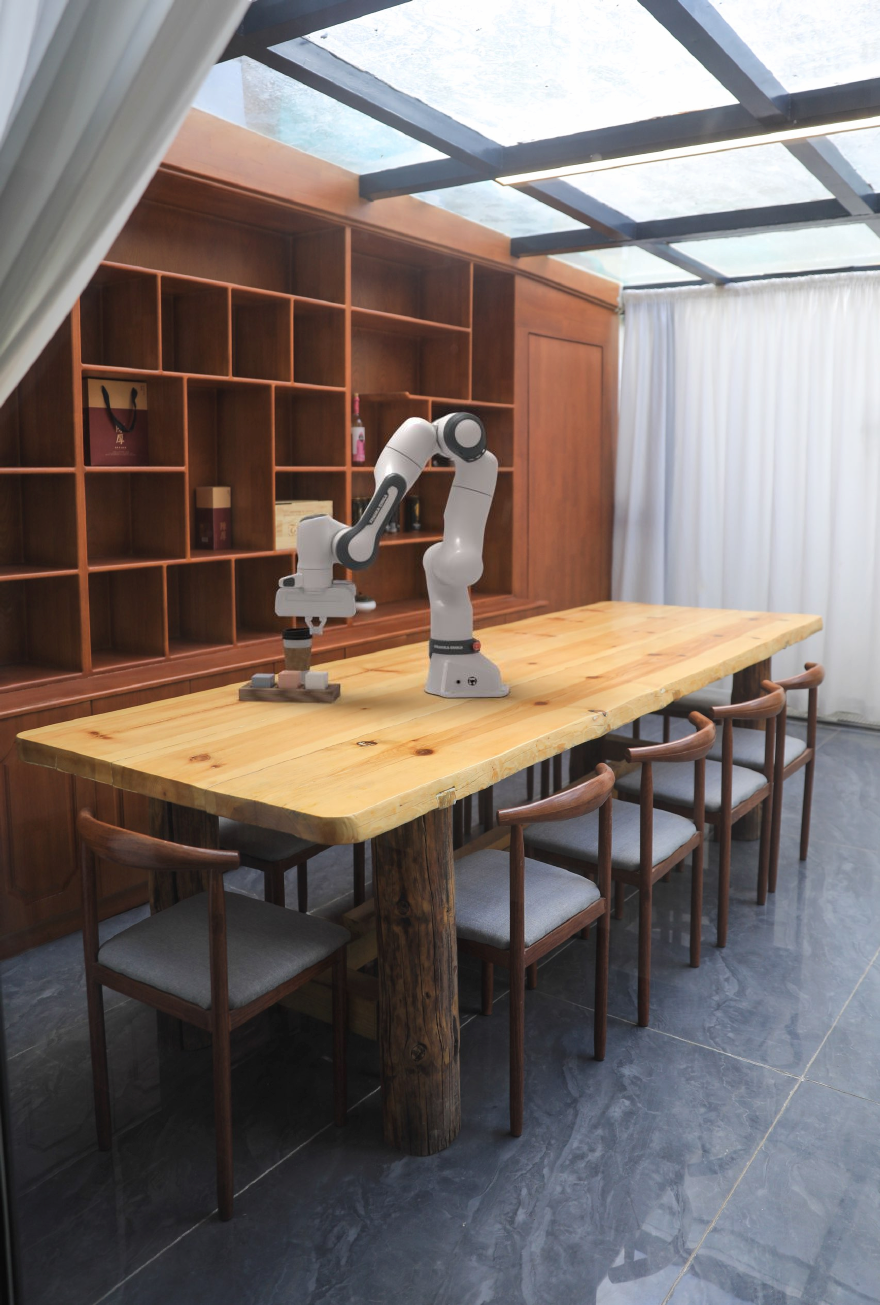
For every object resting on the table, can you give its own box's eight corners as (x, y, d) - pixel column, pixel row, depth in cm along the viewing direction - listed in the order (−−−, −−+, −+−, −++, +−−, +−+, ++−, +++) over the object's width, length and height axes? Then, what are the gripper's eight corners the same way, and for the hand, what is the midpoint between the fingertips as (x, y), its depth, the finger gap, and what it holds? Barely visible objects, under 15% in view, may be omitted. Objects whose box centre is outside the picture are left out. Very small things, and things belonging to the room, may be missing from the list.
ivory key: (328, 686, 261) (328, 671, 261) (324, 690, 257) (323, 675, 256) (310, 686, 262) (309, 671, 261) (305, 690, 257) (305, 674, 257)
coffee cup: (307, 685, 276) (306, 631, 273) (278, 684, 277) (277, 630, 275) (317, 680, 284) (316, 626, 281) (288, 678, 285) (287, 625, 283)
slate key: (275, 689, 263) (274, 674, 262) (270, 693, 258) (269, 677, 258) (257, 688, 264) (256, 673, 263) (251, 692, 259) (251, 677, 258)
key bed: (340, 694, 264) (340, 683, 264) (332, 703, 254) (332, 691, 254) (250, 692, 267) (250, 681, 266) (238, 700, 257) (238, 688, 256)
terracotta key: (301, 686, 262) (301, 670, 262) (297, 689, 257) (296, 674, 257) (283, 685, 263) (283, 670, 262) (278, 689, 258) (278, 673, 257)
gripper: (358, 578, 257) (359, 633, 259) (279, 577, 259) (280, 631, 261) (353, 581, 250) (354, 636, 253) (272, 580, 253) (273, 635, 255)
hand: (316, 634), depth 257 cm, fingers closed
